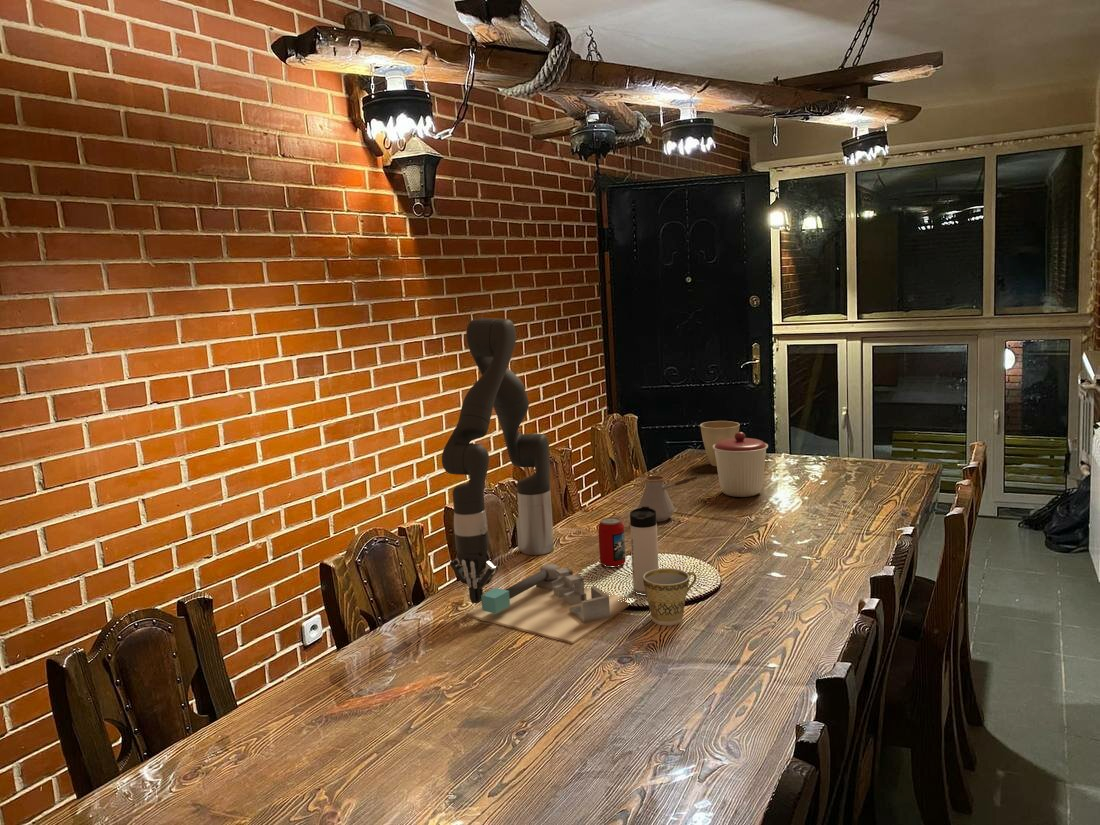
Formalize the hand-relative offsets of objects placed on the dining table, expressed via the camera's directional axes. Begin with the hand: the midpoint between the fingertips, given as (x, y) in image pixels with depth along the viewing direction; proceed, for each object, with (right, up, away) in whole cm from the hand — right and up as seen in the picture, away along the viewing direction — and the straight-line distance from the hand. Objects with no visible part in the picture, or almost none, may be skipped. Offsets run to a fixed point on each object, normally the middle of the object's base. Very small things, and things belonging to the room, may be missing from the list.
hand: (476, 602), depth 189 cm
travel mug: (+40, +1, +7) cm, 41 cm away
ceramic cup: (+44, -2, -9) cm, 45 cm away
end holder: (+25, -2, -5) cm, 26 cm away
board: (+17, -1, 0) cm, 17 cm away
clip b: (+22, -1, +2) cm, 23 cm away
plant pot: (+84, +23, +130) cm, 156 cm away
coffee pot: (+54, +10, +62) cm, 83 cm away
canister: (+81, +16, +87) cm, 120 cm away
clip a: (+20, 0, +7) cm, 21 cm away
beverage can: (+34, +4, +27) cm, 43 cm away
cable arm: (+11, +1, +5) cm, 12 cm away
